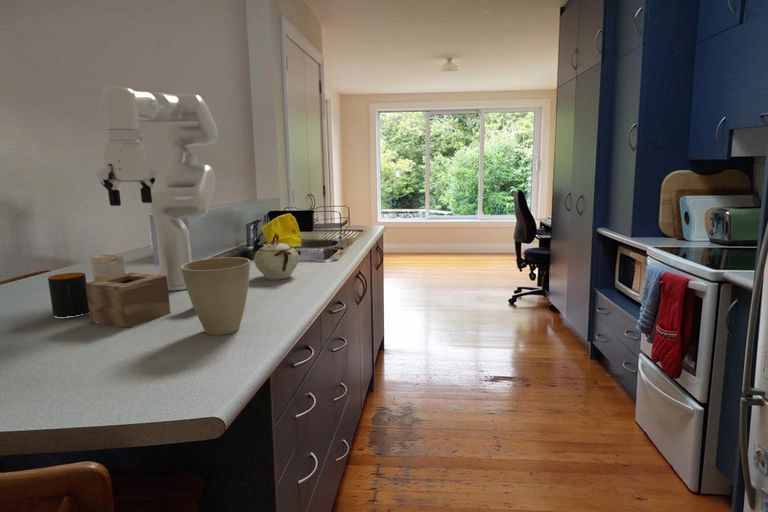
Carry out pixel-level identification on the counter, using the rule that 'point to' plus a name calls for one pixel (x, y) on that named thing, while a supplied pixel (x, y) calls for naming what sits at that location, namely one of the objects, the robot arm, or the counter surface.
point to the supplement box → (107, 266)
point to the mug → (68, 294)
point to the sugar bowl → (276, 260)
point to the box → (128, 299)
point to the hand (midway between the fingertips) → (131, 204)
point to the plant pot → (218, 292)
